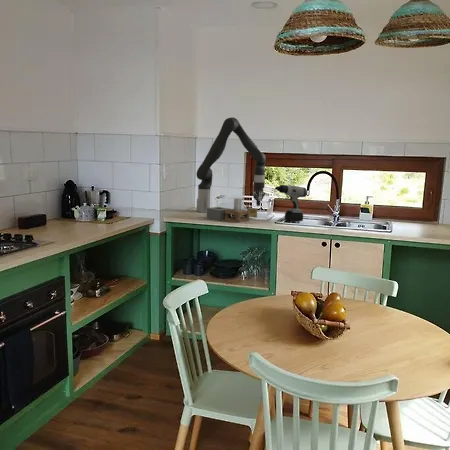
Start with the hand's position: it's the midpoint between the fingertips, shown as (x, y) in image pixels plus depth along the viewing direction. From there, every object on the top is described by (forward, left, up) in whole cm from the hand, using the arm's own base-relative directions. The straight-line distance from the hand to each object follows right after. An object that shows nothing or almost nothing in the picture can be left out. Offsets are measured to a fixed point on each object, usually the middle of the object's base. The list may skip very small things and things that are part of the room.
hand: (258, 205), depth 343 cm
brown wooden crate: (0, -15, -8) cm, 17 cm away
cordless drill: (+21, +9, -9) cm, 24 cm away
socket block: (0, -23, -9) cm, 24 cm away
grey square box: (-13, -27, -9) cm, 31 cm away
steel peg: (0, -23, -9) cm, 24 cm away
